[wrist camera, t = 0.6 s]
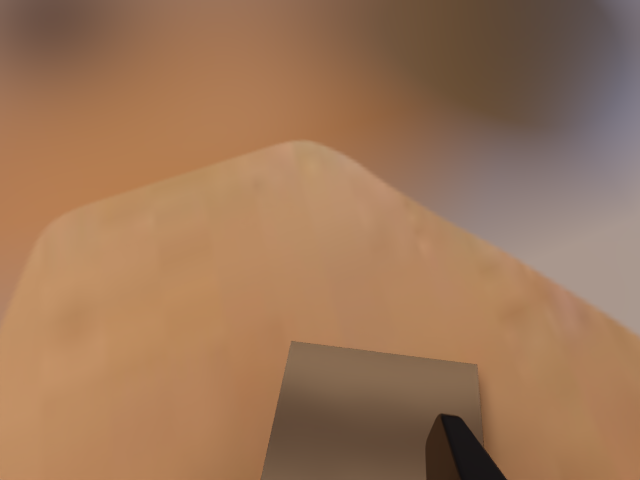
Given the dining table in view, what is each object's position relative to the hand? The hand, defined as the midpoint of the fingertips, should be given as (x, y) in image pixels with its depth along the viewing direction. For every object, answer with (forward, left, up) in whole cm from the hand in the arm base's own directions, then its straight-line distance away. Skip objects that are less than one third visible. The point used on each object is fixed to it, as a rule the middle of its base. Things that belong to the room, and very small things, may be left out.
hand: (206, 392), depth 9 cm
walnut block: (+2, -5, -15) cm, 16 cm away
